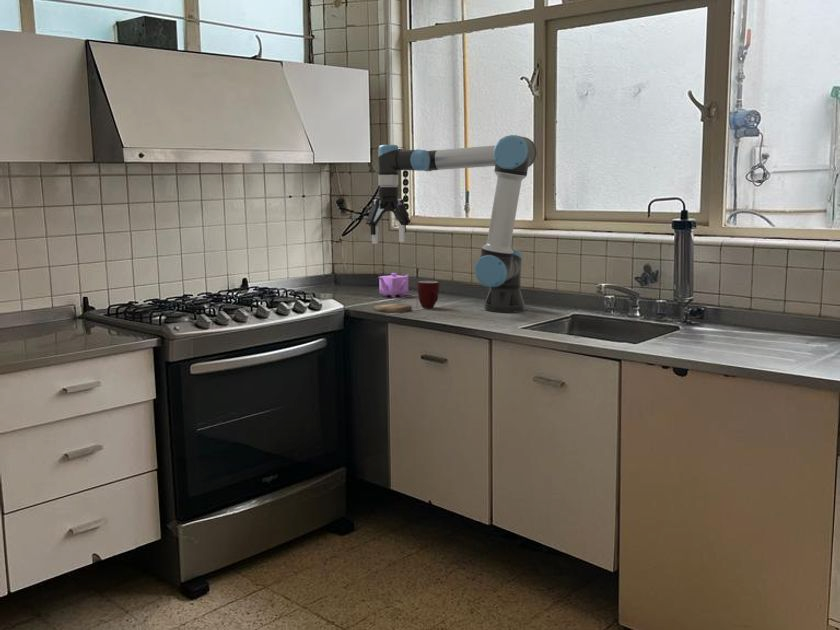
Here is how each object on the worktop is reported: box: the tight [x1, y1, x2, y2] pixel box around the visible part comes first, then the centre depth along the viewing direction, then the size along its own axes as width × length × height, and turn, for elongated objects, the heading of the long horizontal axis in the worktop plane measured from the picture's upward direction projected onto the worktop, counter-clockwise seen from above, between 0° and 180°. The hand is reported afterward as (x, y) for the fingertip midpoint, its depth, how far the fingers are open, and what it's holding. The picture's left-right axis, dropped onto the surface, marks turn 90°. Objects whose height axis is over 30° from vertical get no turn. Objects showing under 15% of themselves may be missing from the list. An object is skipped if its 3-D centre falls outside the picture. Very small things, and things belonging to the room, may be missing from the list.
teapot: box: [377, 272, 410, 299], centre depth 361 cm, size 18×13×10 cm
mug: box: [417, 280, 440, 310], centre depth 329 cm, size 11×8×10 cm
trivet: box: [373, 303, 412, 314], centre depth 324 cm, size 14×14×1 cm
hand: (388, 242), depth 329 cm, fingers open, 13 cm apart
